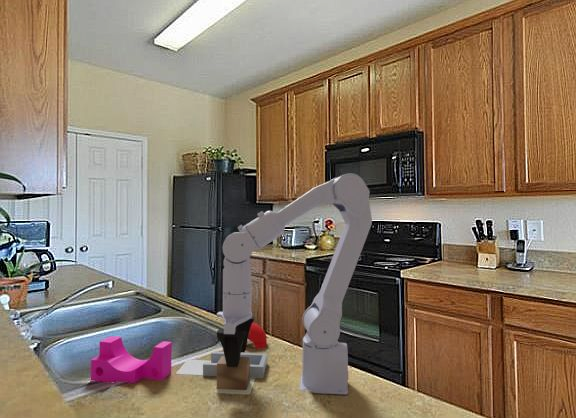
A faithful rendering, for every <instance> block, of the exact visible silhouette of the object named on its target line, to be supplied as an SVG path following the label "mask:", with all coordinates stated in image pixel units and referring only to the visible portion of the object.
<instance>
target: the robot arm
mask: <svg viewBox="0 0 576 418" xmlns="http://www.w3.org/2000/svg"><path fill="white" fill-rule="evenodd" d="M370 192H371V191H370V189H369V187H368V186H367V184H366V183H365V181H364V179H363V178H362V177H361V176H359V175H358V174H356V173H351V172H349V173H344V174H342V175H340V176H336V177H334V178H332V179H331V180H328V181H326V182H324V183H321V184H320V185H316V186H314V187H313V188H310V190H307V192H305V193H304V194H302V195H300V196H299V197H297V199H295V200H293V201H292V202H291V203H289V204H288V205H286V206H284V207H283V208H281V209H280V210H279V211H274V210H267V211H265V212H264V211H260V212H258V213H257V217H256V218H255V219H253V220H251V221H250V222H248V223H246V224H245V225H242V224H240V225H239V226H237V229H238V230H237V231H238V232H237V231H236V232H235V231H234V232H232V233H230V234H228V235H227V236H226V238H225V239H224V241H223V243H222V247H221V248H222V253H223V256H224V259H223V264H222V265H223V267H224V268H223V269H222V311H218V312H217V313H216V318H221V319H222V322H223V328H219V329H217V330H216V337H217V338H218V340H219V342H220V345H221V348H222V350H223V351H222V352H224V355H225V360H226V364H227V367H238V365H239V361H240V354H241V353H246V350H247V346H248V340H249V339H248V336H249V331H250V328H251V325H252V323H254V321H255V316H254V315H253V313H252V268H251V256H252V253H253V251H259V250H261V249H262V248H264V247H265V246H266V245H267V246H268V244H270V243H271V242H273V241H275V240H277V238H279V237H281V236H283V235H284V233H285V228H286V226H287V225H288V224H290V223H292V222H293V221H295V220H297V219H298V218H299V217H301V216H302V215H304V214H306V213H308V212H309V211H311V210H313V209H314V208H316V207H318V206H322V205H323V206H324V205H333V206H334V207H335V208H336V209H337V210H338V212H339V213H340V216H341V218H342V220H343V221H344V223H345V224H344V227H343V229H342V231H341V234H340V237H339V239H338V242H337V245H336V248H335V250H334V253H333V255H332V258H331V260H330V264H329V266H328V268H327V271H326V274H325V276H324V278H323V282H322V284H321V287H320V290H319V292H318V293H317V294H316V296H315V297H314V298H313V300H312V302H311V305H310V306H308V307H307V309H305V310H304V311H303V312H304V313H303V314H302V318H301V319H302V326H303V327H304V328H305V330H306V333H305V335H304V336H303V338H302V366H301V368H302V369H301V370H302V371H301V374H300V380H299V381H300V382H299V391H301V392H311V394H324V395H325V394H327V395H328V394H329V395H348V393H349V391H348V387H349V386H348V381H349V355H348V353H349V351H348V344H347V343H346V342H340V341H338V340H339V338H340V334H341V327H340V326H341V324H340V323H341V319H342V316H343V300H344V298H345V295H346V293H347V291H348V288H349V285H350V282H351V279H352V277H353V274H354V272H355V270H356V267H357V264H358V261H359V258H360V256H361V253H362V251H363V249H364V245H365V243H366V241H367V238H368V235H369V232H370V231H371V230H370V229H371V227H372V223H373V217H372V212H371V211H372V210H371V205H370V200H369V199H370Z"/></svg>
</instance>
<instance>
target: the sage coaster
mask: <svg viewBox="0 0 576 418" xmlns="http://www.w3.org/2000/svg"><path fill="white" fill-rule="evenodd" d="M255 381H256V378H250V382H249V385H248V388H247V390H231V389H217V387H216V389H215V391H214V394H227V395H228V394H229V395H231V394H233V395H251V393H252V391H253V386H254V383H255Z"/></svg>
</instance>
